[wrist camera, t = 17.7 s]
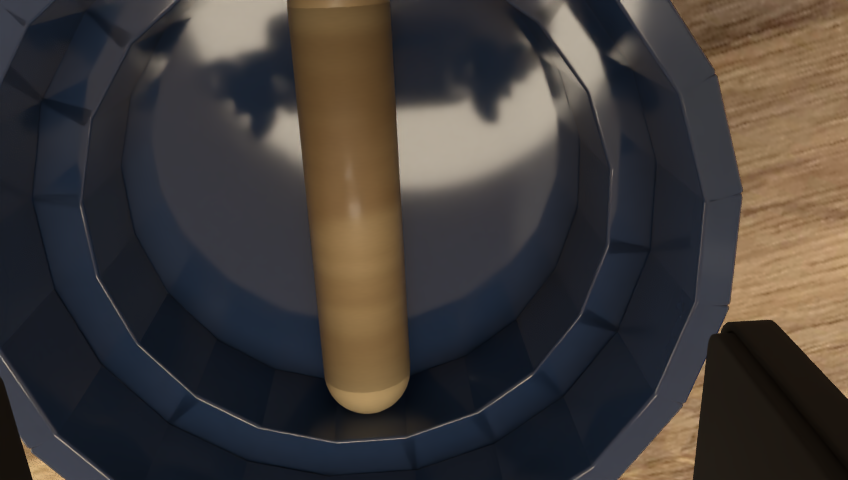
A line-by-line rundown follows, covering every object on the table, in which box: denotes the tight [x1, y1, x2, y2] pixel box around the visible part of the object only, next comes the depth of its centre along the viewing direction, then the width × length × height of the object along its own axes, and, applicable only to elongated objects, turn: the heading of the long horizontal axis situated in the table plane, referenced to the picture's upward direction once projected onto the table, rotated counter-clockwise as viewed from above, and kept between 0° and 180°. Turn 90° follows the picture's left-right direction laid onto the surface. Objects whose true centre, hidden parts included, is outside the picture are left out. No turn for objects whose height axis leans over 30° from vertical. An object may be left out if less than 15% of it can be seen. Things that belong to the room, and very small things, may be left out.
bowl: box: [0, 0, 743, 480], centre depth 19 cm, size 16×16×6 cm
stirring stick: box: [287, 0, 410, 414], centre depth 20 cm, size 12×2×2 cm, turn 2°
